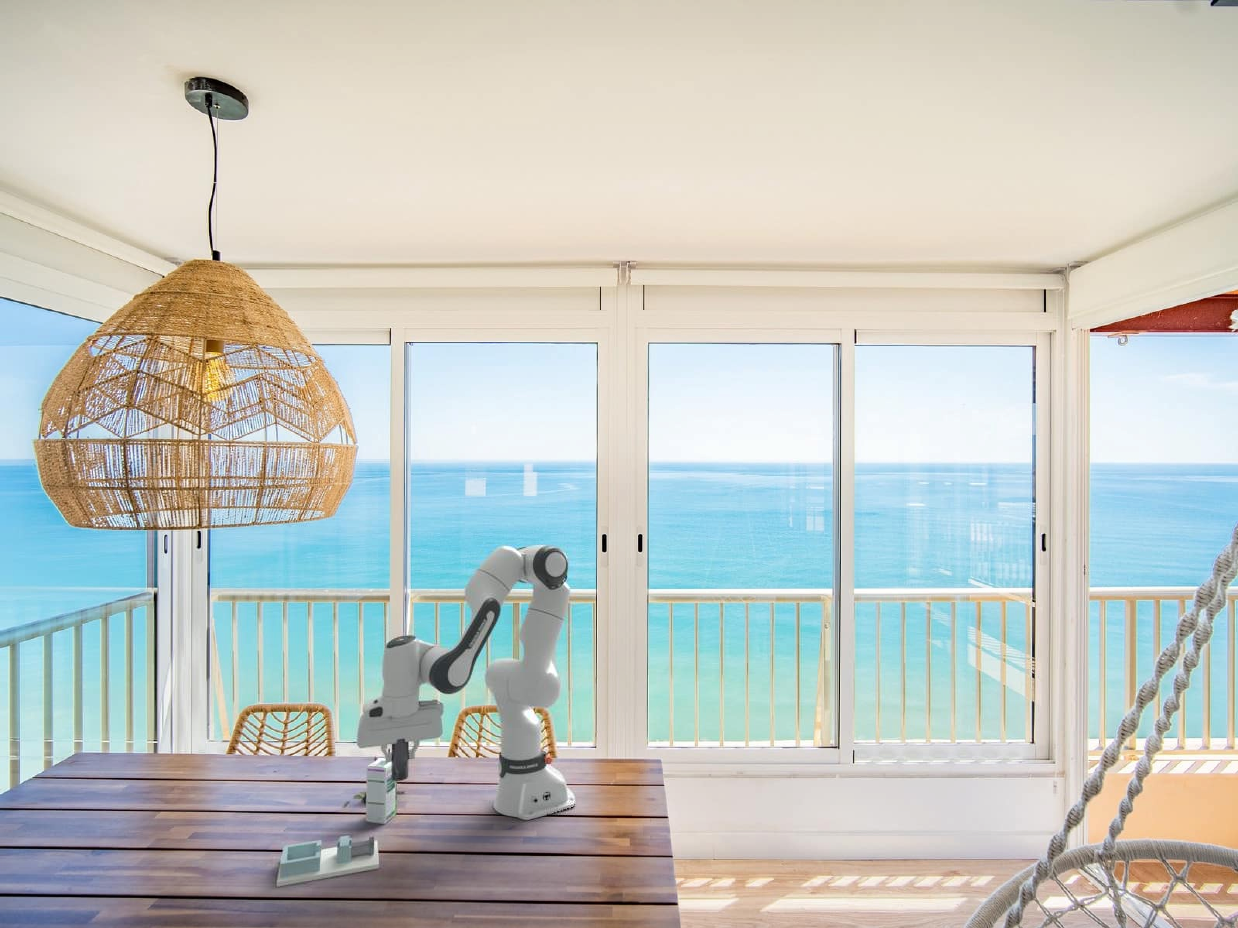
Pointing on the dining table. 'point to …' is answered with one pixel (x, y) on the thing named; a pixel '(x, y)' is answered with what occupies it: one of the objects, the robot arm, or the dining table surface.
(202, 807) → the dining table surface
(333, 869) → the dock
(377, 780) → the syrup box
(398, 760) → the dark grey gold-tipped cylinder
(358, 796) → the olive brown irregular figure
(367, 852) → the pin
